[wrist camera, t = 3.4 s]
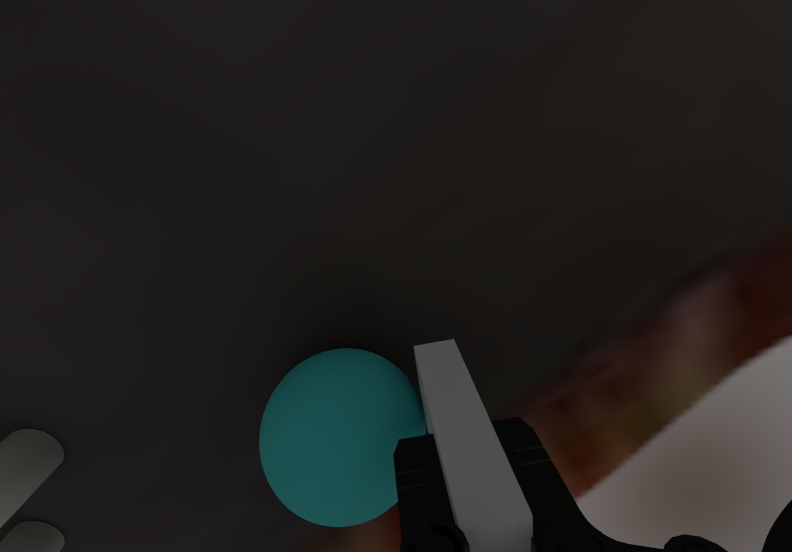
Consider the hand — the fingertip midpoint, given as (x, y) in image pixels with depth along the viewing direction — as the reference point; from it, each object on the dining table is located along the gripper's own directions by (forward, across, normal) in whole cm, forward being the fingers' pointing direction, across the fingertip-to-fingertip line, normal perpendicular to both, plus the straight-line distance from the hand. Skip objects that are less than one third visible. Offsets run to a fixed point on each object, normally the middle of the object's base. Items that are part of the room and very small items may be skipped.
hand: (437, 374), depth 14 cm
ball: (0, +4, +2) cm, 4 cm away
